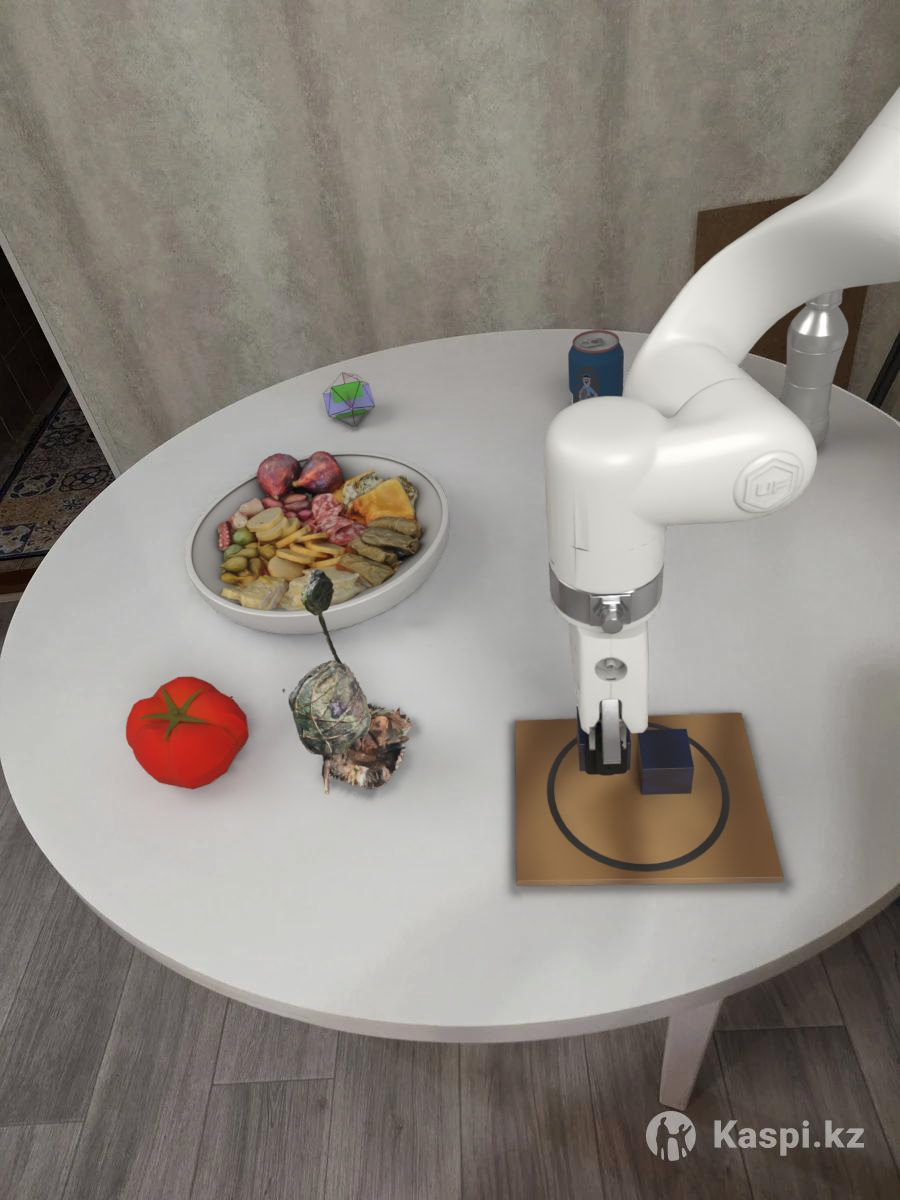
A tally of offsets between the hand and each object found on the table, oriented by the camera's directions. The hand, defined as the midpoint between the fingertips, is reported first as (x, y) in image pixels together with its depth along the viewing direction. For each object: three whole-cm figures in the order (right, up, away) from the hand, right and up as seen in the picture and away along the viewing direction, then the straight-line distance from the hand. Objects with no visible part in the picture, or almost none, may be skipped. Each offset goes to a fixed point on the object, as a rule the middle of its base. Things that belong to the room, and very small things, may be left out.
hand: (603, 745), depth 70 cm
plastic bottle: (+30, +31, +37) cm, 57 cm away
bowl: (-27, +17, +31) cm, 44 cm away
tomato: (-36, -3, +11) cm, 38 cm away
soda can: (+7, +35, +45) cm, 58 cm away
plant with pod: (-20, -3, +9) cm, 22 cm away
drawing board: (+3, -5, +2) cm, 6 cm away
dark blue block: (0, -1, 0) cm, 1 cm away
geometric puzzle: (-26, +38, +54) cm, 71 cm away
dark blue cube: (+5, -3, +2) cm, 6 cm away
